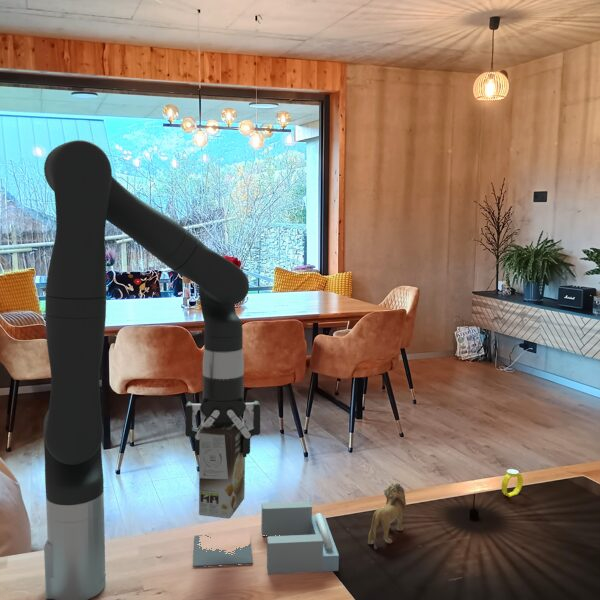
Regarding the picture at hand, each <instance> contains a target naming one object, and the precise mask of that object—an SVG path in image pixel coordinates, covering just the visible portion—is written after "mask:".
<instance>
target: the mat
mask: <svg viewBox="0 0 600 600" xmlns="http://www.w3.org/2000/svg"><path fill="white" fill-rule="evenodd" d="M202 535H203V534H202ZM202 535H198V534H197V535H194V540H193V541H194V543H193V556H192V558H193V559H192V568H193V567H197V568H209V567H208V566H217V567H220V566H219V565H237V566H239V565H238V564H243V565H242V566H246V565H245V564H253V565H254V561H253V552H252V551H253V550H252V544H251V545H250V544H249V545H248V546H245V547H243V548H240V547H239V548H238V549H237V548H236V550H234V551H235V552H234V551H232V552H234V553H235V554H234V553H231V552H228V553H231V554H233V555H231V554H228V553H227V554H225V553H226V552H224V551H226V550H222V551H221V550H219V549H216V550H215V551H212V550H210V549H209V550H206V549H207V548H206V549H203V550H202V547H201V546H199V545H197V544H199V543H201V542H199V540H200V539H199V538H200V537H199V536H202ZM204 535H205V536H207V535H208V534H204ZM207 537H209V536H207ZM210 538H211V537H210ZM194 544H195V545H194ZM200 545H201V544H200ZM199 547H200V548H199ZM211 549H212V548H211ZM240 549H241V550H240ZM206 551H207V552H206ZM219 551H221V552H219ZM204 566H206V567H204Z"/></svg>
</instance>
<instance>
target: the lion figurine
mask: <svg viewBox="0 0 600 600" xmlns="http://www.w3.org/2000/svg"><path fill="white" fill-rule="evenodd" d="M383 494H384V496H385V498H386V505H385V506H384V507H380V508H378V509H376V510H375V511H374V513H373V515H372V517H371V518H372V520H371V526H370V531H369V533H368V536H367V538H368V539H367V544H368V545H373V544H374V545H373V547H374V550H377V549H378V541H377V527H378V526H379V525H380V527H381V528H382V531H383V535H382V536H383V539H384V540H385V542H386V543H387V544H392V543H393V539H391V538H389V532H390V528H391V523H394V522H395V521H396V522H397V523H396V530H397V531H400V532H401V531H403V530H404V528H403V527H402V523H403V518H404V516H403V514H404V512H405V511H406V505H407V503H406V493H405V489H404V487H403V486H402V485H401V484H400V483H398V482H391V483H390V485H388V487H387V488H386V489H384V490H383Z"/></svg>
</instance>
